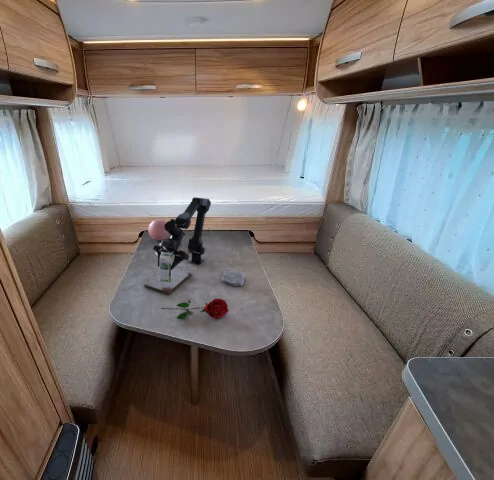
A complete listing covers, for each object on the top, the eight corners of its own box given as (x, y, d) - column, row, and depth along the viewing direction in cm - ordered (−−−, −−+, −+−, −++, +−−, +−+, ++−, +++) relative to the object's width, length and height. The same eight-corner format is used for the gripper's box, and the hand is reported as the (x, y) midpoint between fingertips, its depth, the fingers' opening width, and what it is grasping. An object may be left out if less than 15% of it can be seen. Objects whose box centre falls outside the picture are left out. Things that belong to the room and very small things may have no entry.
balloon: (168, 232, 207) (167, 214, 201) (171, 243, 189) (170, 222, 183) (148, 234, 204) (147, 215, 198) (149, 244, 186) (148, 224, 180)
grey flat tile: (168, 268, 155) (168, 266, 155) (190, 275, 148) (191, 272, 148) (144, 286, 138) (144, 284, 137) (168, 295, 131) (168, 292, 130)
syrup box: (159, 282, 133) (159, 257, 126) (161, 275, 138) (161, 251, 132) (170, 283, 132) (171, 257, 126) (172, 276, 138) (172, 252, 131)
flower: (161, 299, 108) (232, 298, 113) (160, 296, 118) (225, 295, 123) (161, 322, 107) (232, 320, 112) (160, 317, 117) (225, 315, 122)
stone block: (242, 290, 138) (245, 277, 145) (242, 283, 135) (245, 270, 143) (220, 286, 141) (224, 274, 149) (219, 279, 139) (224, 267, 147)
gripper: (153, 229, 132) (141, 258, 128) (186, 236, 124) (174, 267, 120) (163, 238, 142) (152, 265, 137) (193, 245, 134) (183, 274, 129)
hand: (164, 268), depth 131 cm, fingers closed on syrup box, 7 cm apart
